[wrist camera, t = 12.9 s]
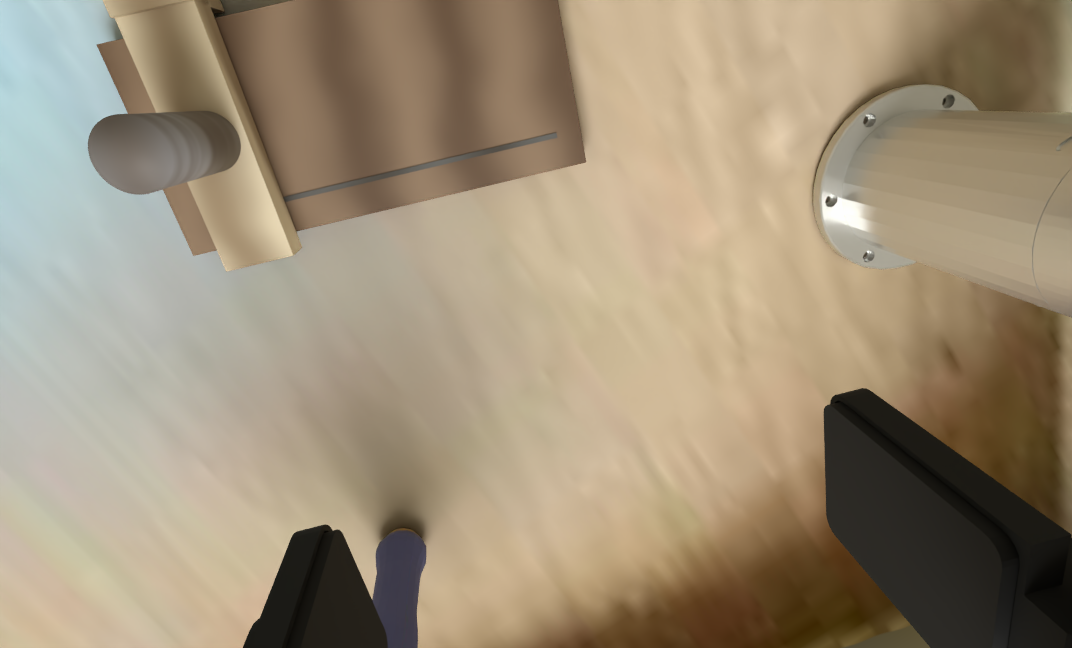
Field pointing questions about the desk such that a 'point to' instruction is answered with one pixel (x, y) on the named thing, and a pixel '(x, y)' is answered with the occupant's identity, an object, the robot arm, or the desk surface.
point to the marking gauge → (194, 131)
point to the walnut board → (389, 101)
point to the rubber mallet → (399, 585)
